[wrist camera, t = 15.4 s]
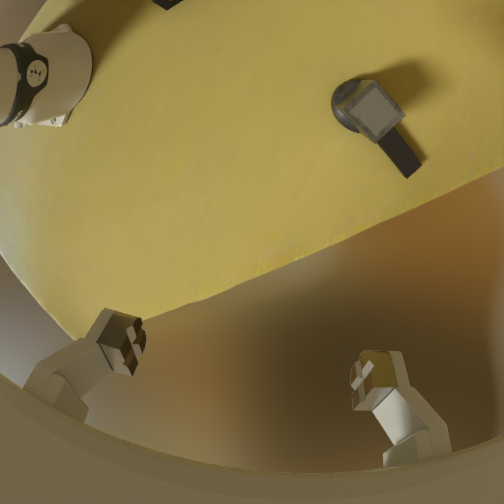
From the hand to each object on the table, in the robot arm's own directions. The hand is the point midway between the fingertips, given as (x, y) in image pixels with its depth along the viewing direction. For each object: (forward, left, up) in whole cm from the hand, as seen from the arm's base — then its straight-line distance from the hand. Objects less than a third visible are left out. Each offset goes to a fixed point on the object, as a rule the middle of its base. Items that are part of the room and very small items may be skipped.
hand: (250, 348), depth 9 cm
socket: (+9, +8, -29) cm, 32 cm away
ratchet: (+13, +5, -31) cm, 34 cm away
